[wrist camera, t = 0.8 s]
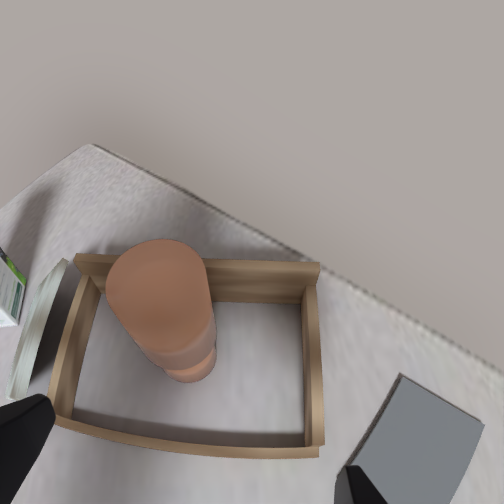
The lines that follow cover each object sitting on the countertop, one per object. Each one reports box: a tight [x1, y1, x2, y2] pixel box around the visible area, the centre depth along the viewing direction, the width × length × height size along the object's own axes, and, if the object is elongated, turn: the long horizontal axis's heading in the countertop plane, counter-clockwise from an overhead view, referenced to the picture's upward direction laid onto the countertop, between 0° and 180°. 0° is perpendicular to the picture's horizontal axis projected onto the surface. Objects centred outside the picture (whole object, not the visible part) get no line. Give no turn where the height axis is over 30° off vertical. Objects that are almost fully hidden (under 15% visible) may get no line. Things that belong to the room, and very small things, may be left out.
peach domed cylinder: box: [106, 239, 217, 383], centre depth 20 cm, size 5×5×11 cm
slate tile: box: [350, 377, 485, 504], centre depth 18 cm, size 10×10×1 cm
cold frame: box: [5, 253, 325, 459], centre depth 22 cm, size 14×27×6 cm, turn 88°
